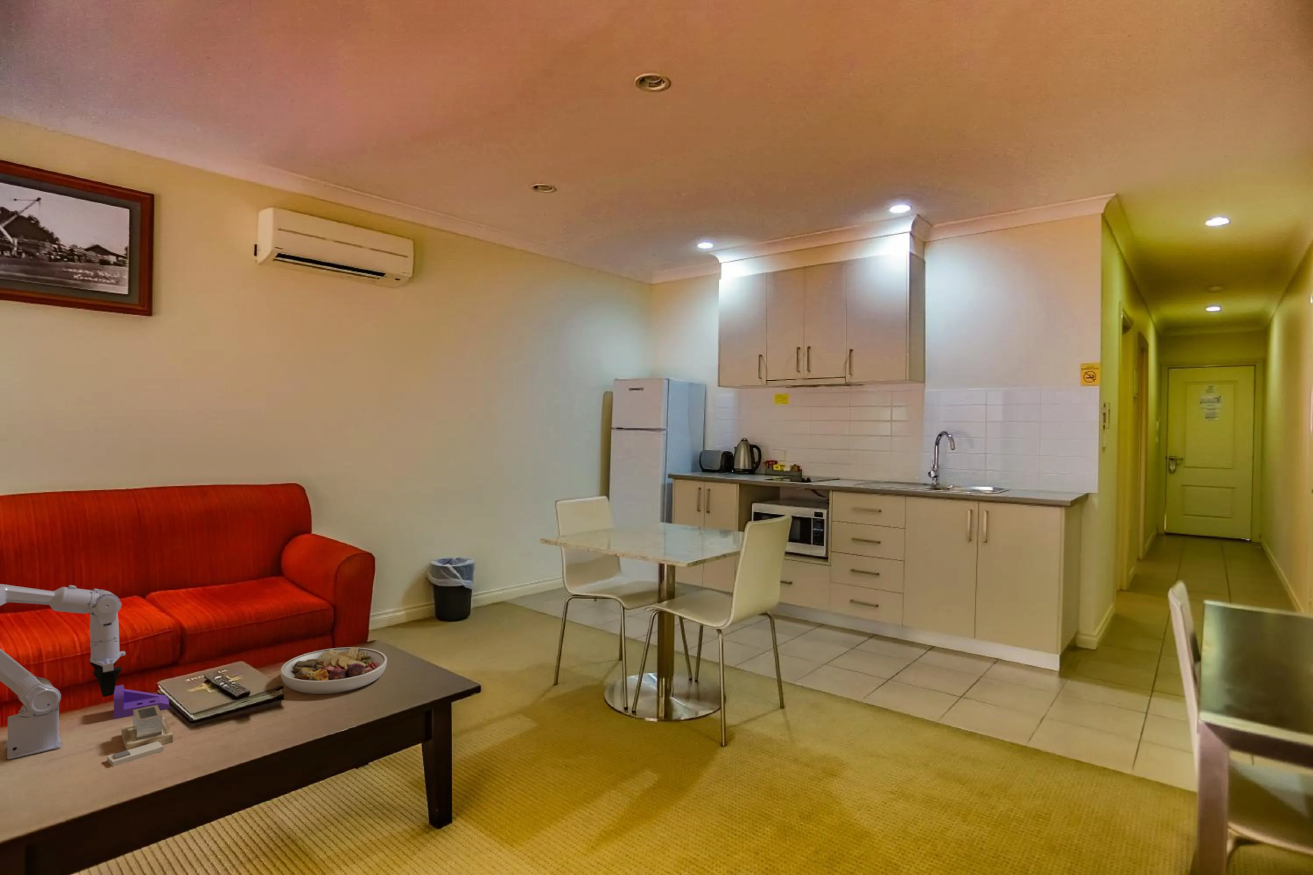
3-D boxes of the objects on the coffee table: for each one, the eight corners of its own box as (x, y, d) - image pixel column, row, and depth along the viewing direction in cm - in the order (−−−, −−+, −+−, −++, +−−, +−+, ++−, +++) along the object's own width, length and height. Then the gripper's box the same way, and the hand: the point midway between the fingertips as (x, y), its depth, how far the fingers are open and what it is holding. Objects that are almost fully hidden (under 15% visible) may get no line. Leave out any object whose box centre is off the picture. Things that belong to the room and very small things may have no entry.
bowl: (261, 680, 212) (261, 655, 211) (352, 655, 236) (353, 632, 236) (313, 707, 194) (314, 679, 194) (406, 677, 219) (406, 652, 219)
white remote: (163, 752, 167) (163, 744, 167) (112, 768, 159) (112, 760, 159) (157, 747, 169) (157, 739, 169) (107, 762, 161) (107, 754, 161)
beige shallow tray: (127, 752, 165) (127, 744, 165) (121, 734, 174) (121, 726, 174) (172, 741, 171) (172, 733, 171) (165, 724, 180) (165, 717, 180)
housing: (136, 741, 168) (137, 720, 168) (132, 729, 174) (133, 709, 174) (161, 735, 171) (162, 715, 171) (157, 723, 177) (157, 704, 177)
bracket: (113, 720, 182) (114, 694, 182) (113, 711, 188) (114, 686, 188) (169, 709, 190) (169, 685, 189) (167, 701, 195) (168, 677, 195)
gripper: (127, 642, 173) (129, 695, 174) (121, 627, 184) (123, 677, 184) (91, 649, 168) (93, 703, 169) (87, 633, 179) (89, 684, 180)
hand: (106, 690), depth 176 cm, fingers open, 7 cm apart
